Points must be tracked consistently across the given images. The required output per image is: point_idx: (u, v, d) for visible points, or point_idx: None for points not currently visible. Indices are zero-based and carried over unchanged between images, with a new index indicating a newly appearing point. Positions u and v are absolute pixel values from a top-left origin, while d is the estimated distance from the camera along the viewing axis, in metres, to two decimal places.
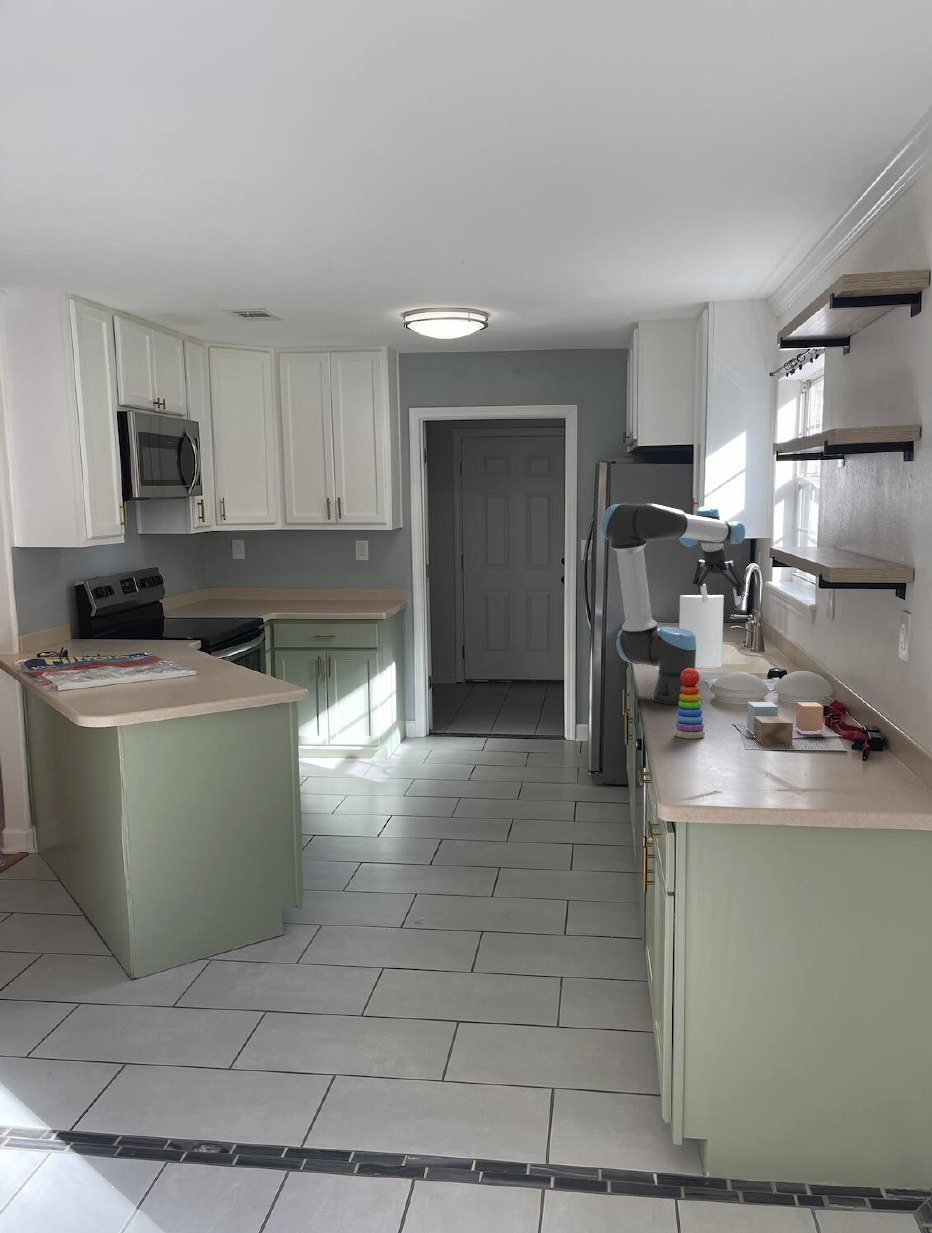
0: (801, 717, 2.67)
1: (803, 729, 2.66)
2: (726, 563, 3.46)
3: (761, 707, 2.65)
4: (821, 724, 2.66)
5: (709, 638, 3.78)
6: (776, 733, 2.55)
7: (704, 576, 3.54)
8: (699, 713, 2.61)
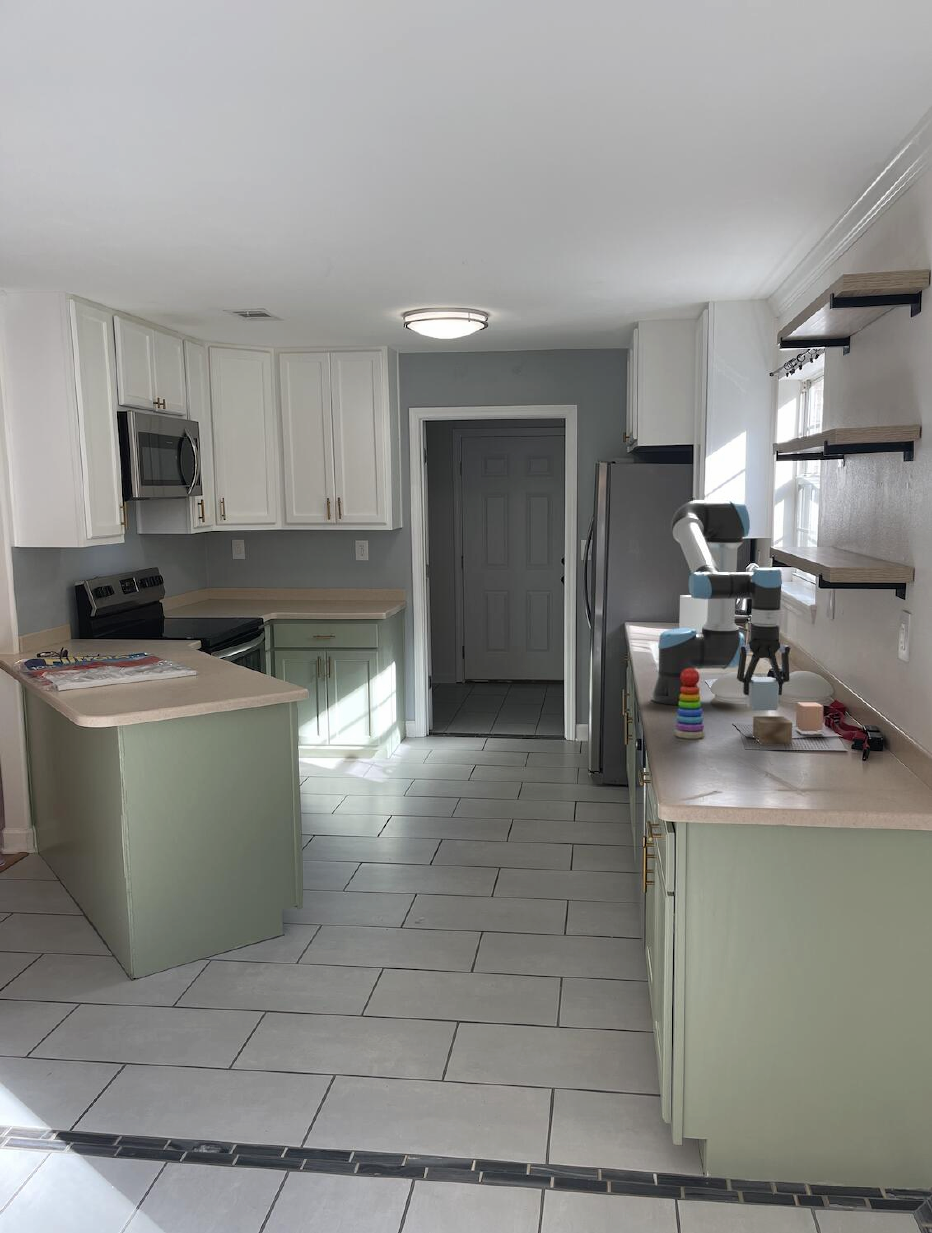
0: (801, 717, 2.67)
1: (803, 729, 2.66)
2: None
3: (761, 682, 2.65)
4: (821, 724, 2.66)
5: None
6: (775, 733, 2.55)
7: None
8: (699, 713, 2.61)
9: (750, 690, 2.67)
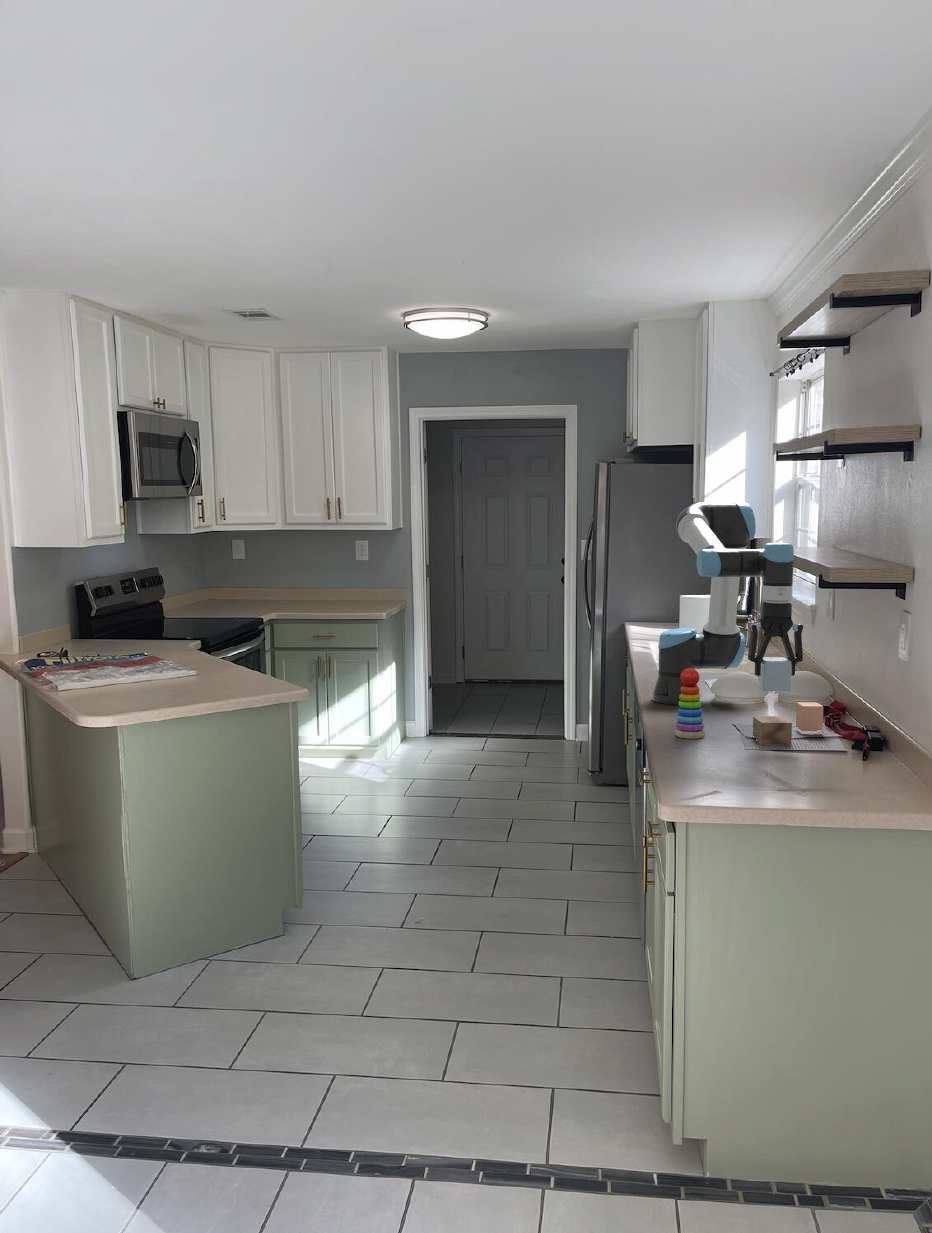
0: (801, 717, 2.67)
1: (803, 729, 2.66)
2: None
3: (773, 662, 2.54)
4: (821, 724, 2.66)
5: None
6: (775, 733, 2.55)
7: None
8: (699, 713, 2.61)
9: (762, 670, 2.56)
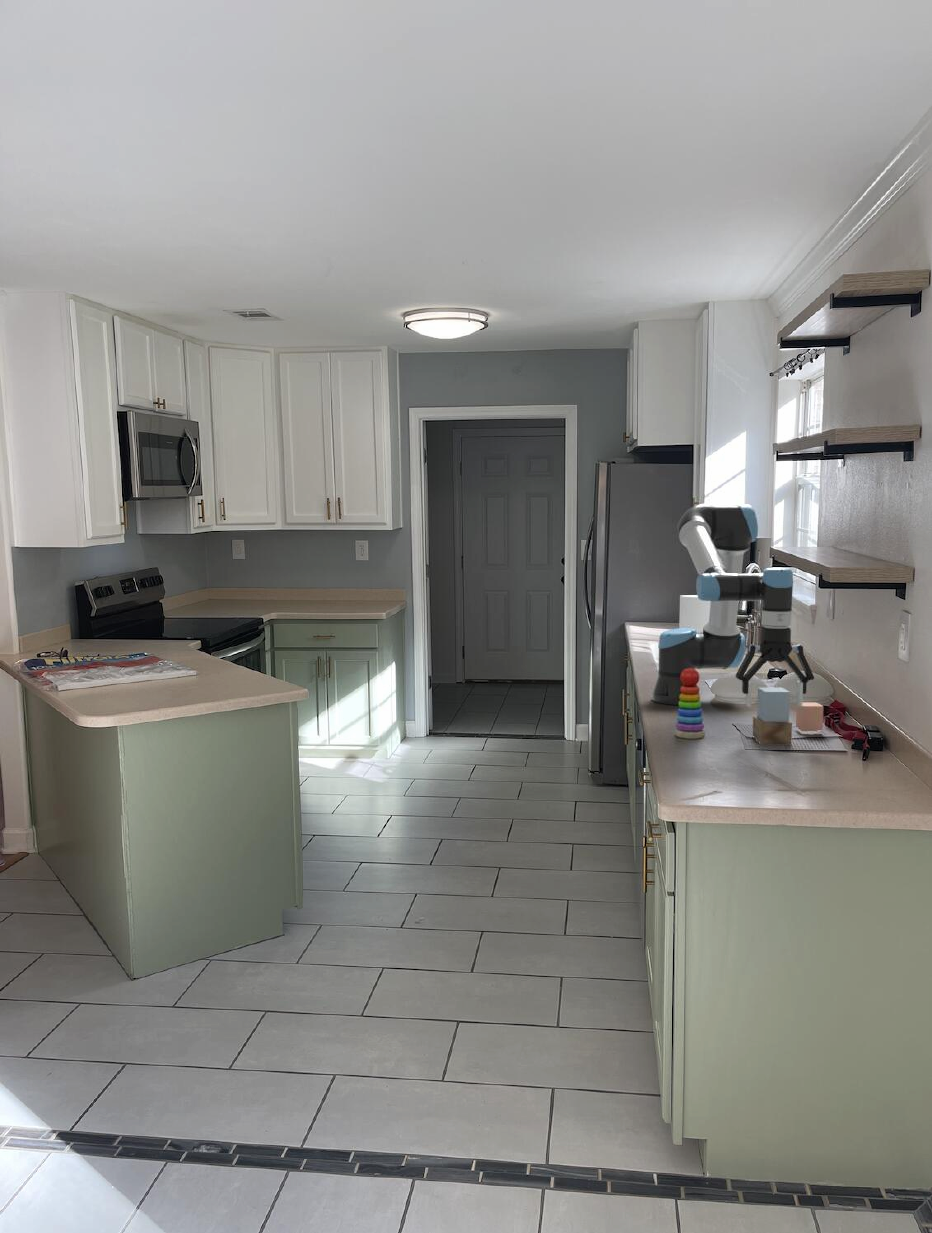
0: (801, 717, 2.67)
1: (803, 729, 2.66)
2: None
3: (772, 692, 2.55)
4: (821, 724, 2.66)
5: None
6: (775, 733, 2.55)
7: None
8: (699, 713, 2.61)
9: (750, 688, 2.56)
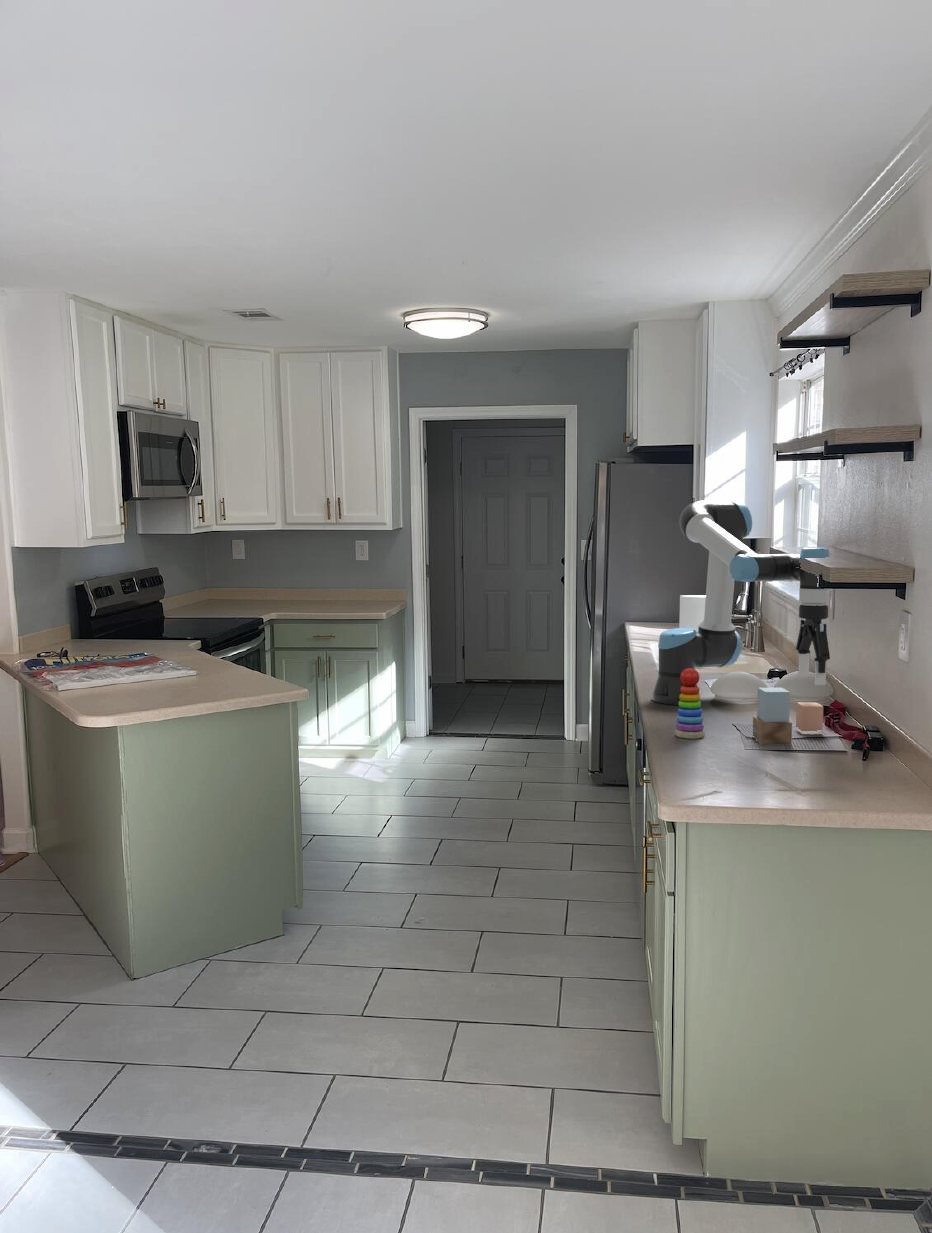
0: (801, 717, 2.67)
1: (803, 729, 2.66)
2: None
3: (772, 692, 2.55)
4: (821, 724, 2.66)
5: None
6: (775, 733, 2.55)
7: (802, 640, 2.70)
8: (699, 713, 2.61)
9: None
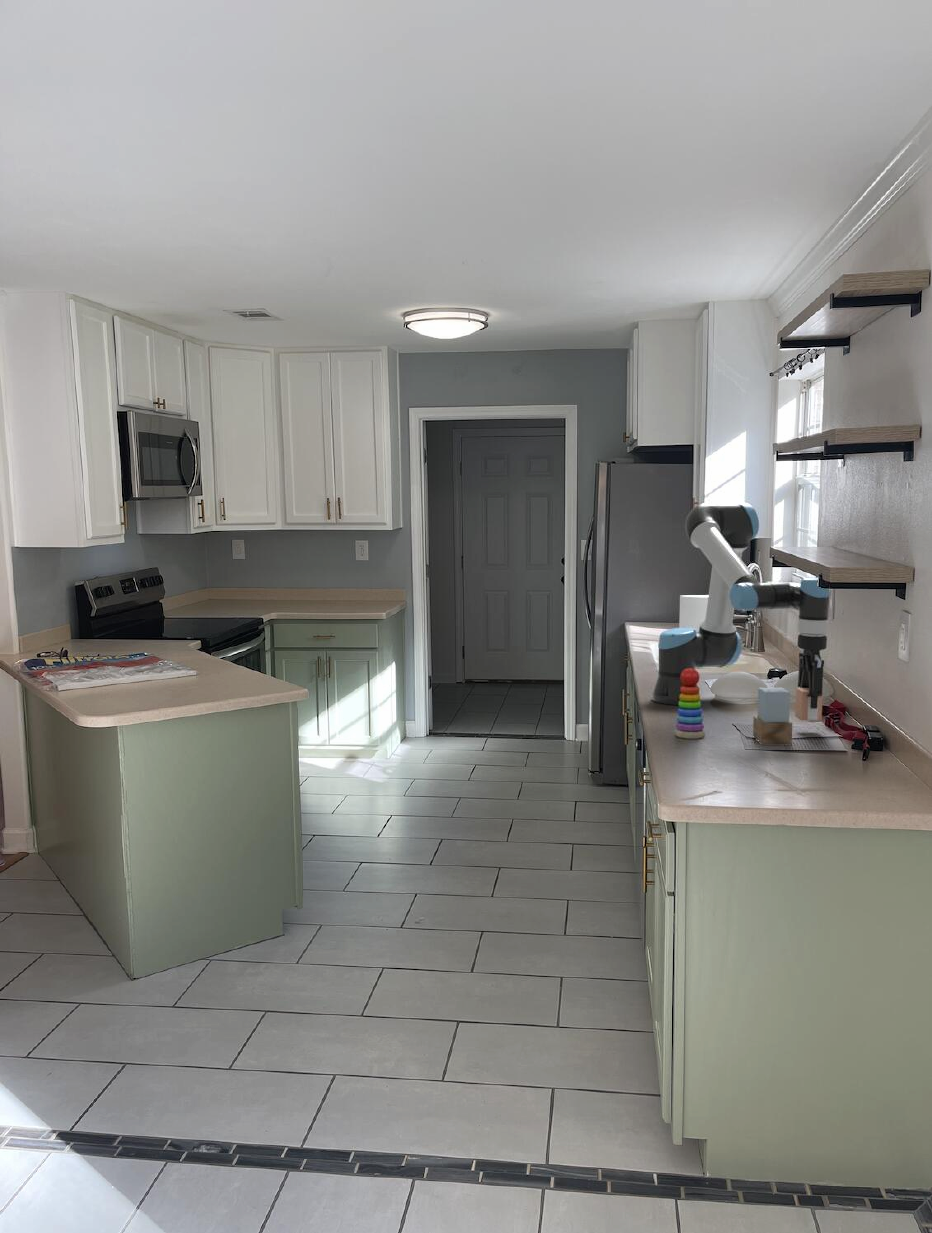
0: (800, 703, 2.67)
1: (802, 714, 2.66)
2: (815, 659, 2.62)
3: (772, 692, 2.55)
4: (820, 710, 2.66)
5: None
6: (775, 733, 2.55)
7: (803, 674, 2.70)
8: (699, 713, 2.61)
9: None
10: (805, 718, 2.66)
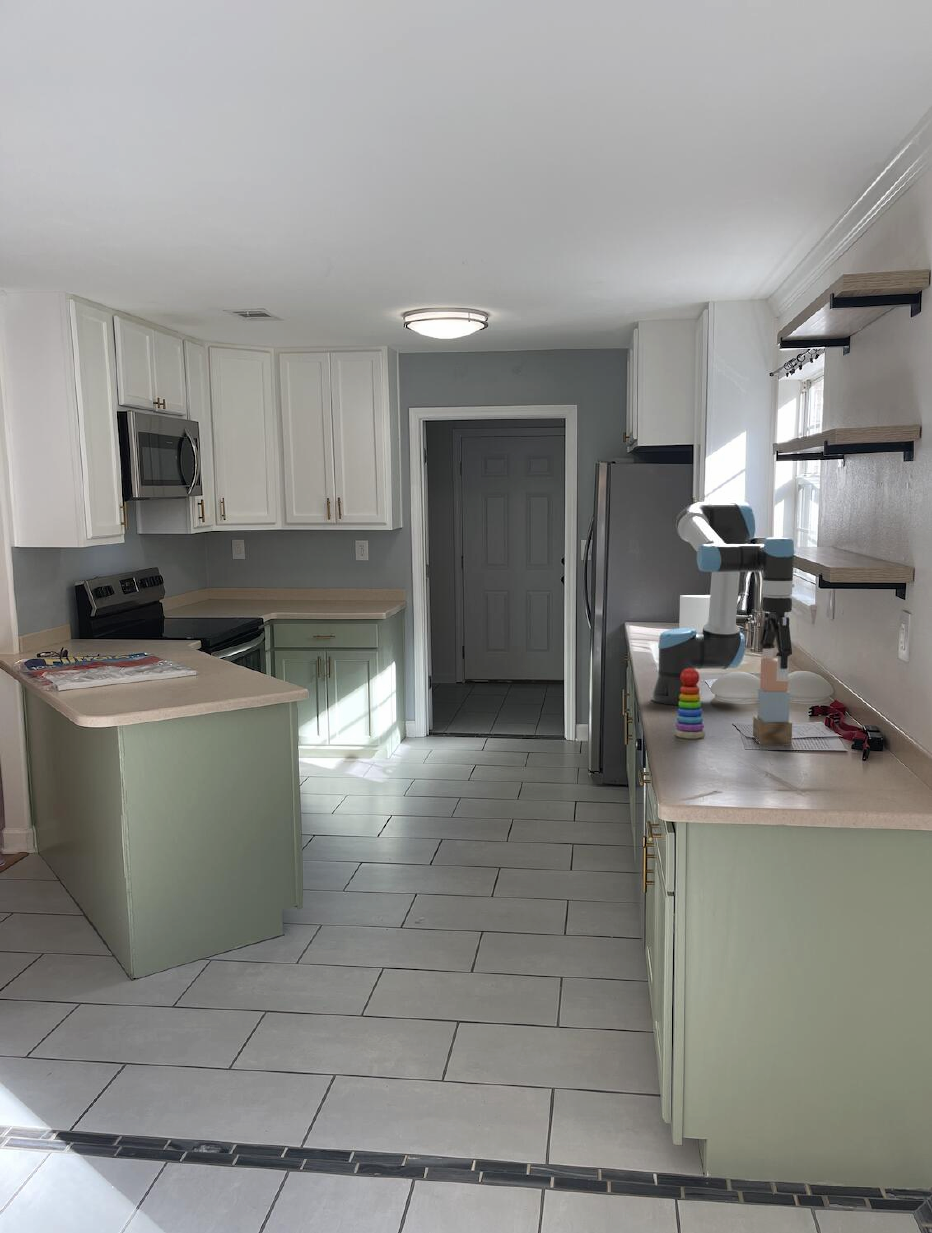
0: (765, 673, 2.56)
1: (768, 685, 2.55)
2: None
3: (772, 692, 2.54)
4: None
5: None
6: (775, 733, 2.54)
7: (766, 634, 2.61)
8: (699, 713, 2.61)
9: None
10: (771, 689, 2.55)
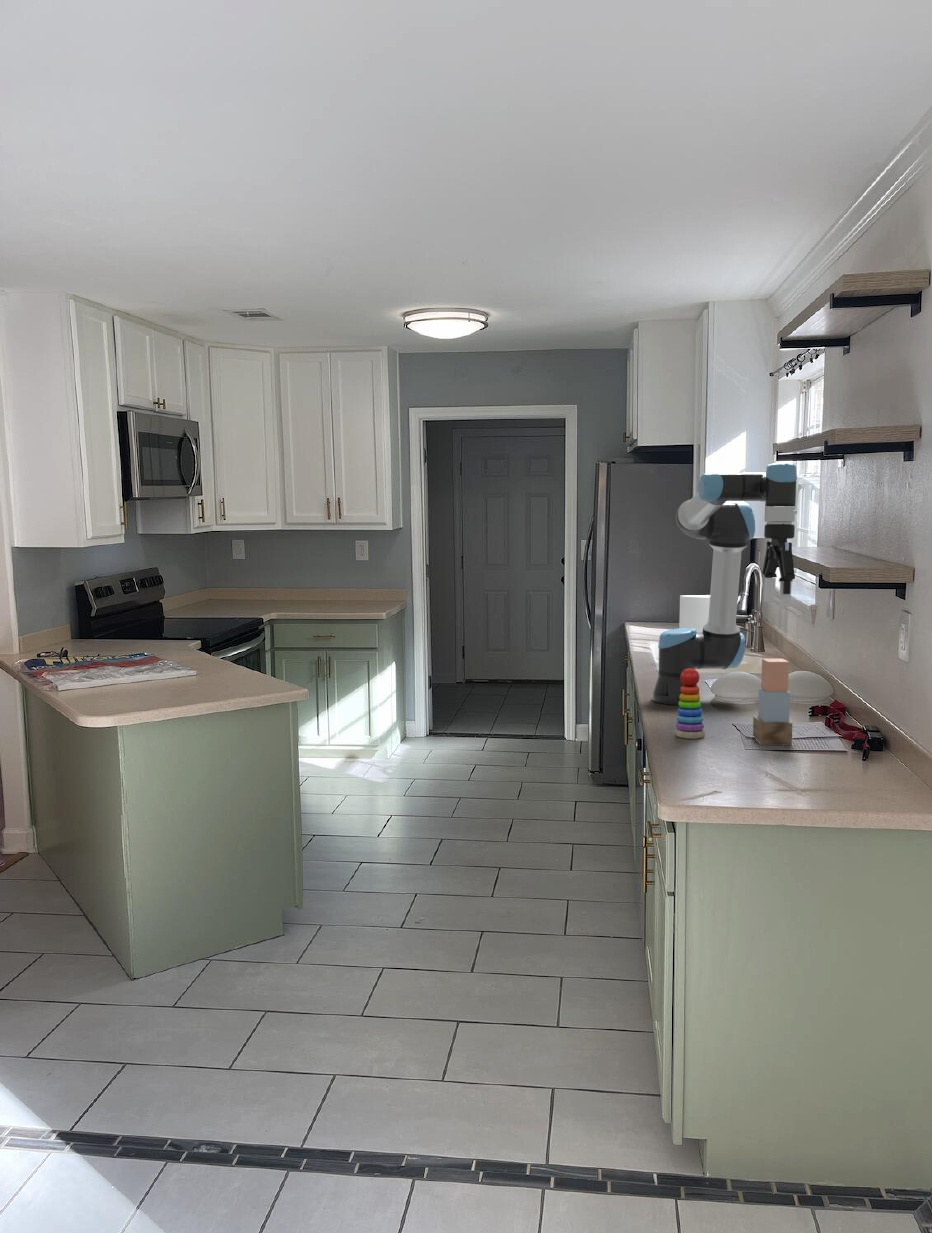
0: (766, 673, 2.56)
1: (768, 686, 2.55)
2: None
3: (772, 693, 2.54)
4: (787, 680, 2.54)
5: None
6: (775, 734, 2.54)
7: (768, 563, 2.59)
8: (699, 713, 2.61)
9: None
10: (771, 689, 2.55)
